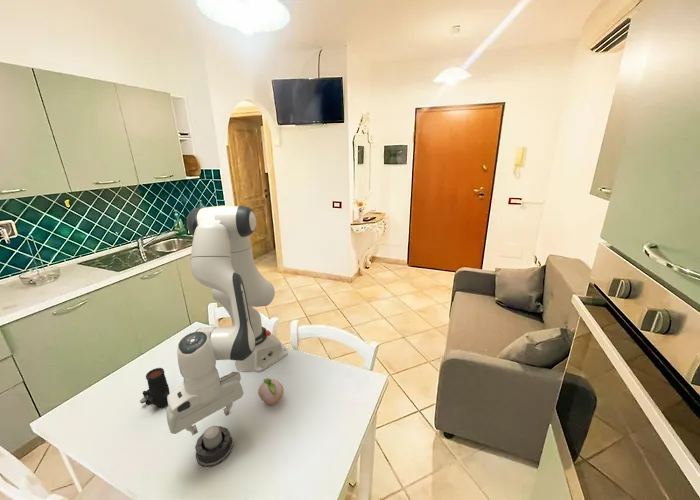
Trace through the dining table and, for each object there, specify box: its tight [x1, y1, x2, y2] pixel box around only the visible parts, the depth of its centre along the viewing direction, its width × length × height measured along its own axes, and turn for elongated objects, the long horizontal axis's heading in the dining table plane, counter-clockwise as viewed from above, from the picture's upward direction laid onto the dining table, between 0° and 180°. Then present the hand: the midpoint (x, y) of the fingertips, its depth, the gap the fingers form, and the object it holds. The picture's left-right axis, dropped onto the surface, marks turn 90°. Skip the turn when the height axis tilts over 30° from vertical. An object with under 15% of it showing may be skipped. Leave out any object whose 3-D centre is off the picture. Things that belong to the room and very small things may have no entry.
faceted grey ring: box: [194, 425, 234, 468], centre depth 90 cm, size 10×10×4 cm
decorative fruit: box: [257, 377, 285, 406], centre depth 106 cm, size 9×8×10 cm
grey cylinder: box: [202, 425, 223, 451], centre depth 89 cm, size 5×5×6 cm
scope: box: [139, 367, 171, 410], centre depth 106 cm, size 8×14×10 cm
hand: (211, 422), depth 88 cm, fingers open, 8 cm apart
